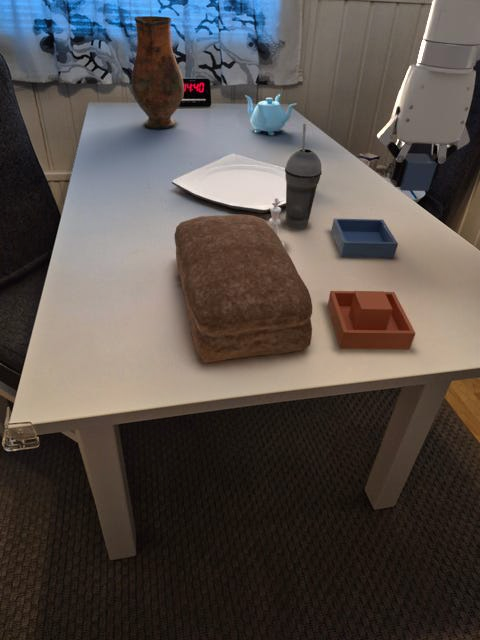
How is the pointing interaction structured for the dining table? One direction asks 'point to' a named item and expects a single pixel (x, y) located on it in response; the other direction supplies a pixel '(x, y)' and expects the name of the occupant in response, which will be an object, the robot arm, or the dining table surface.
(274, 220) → the chess piece
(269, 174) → the plate
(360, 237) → the slate bin
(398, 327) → the terracotta bin
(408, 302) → the dining table surface
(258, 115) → the teapot
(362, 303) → the terracotta block
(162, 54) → the brown vase
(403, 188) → the slate block
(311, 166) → the beverage cup
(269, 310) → the bread
